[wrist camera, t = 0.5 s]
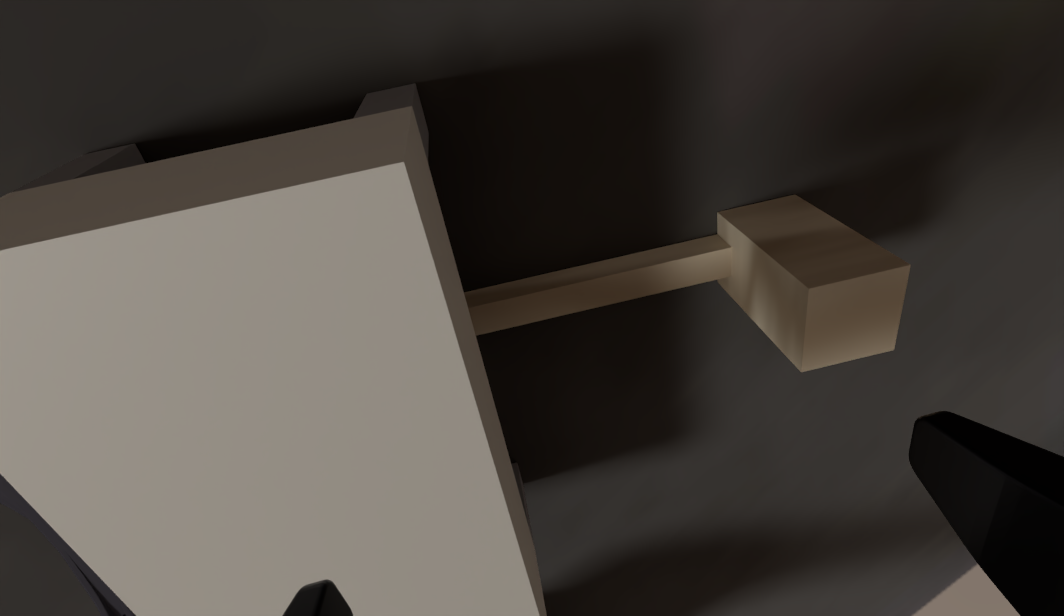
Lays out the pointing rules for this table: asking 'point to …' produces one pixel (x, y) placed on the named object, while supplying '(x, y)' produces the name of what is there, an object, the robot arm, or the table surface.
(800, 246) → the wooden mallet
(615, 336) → the table surface
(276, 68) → the table surface
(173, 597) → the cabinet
